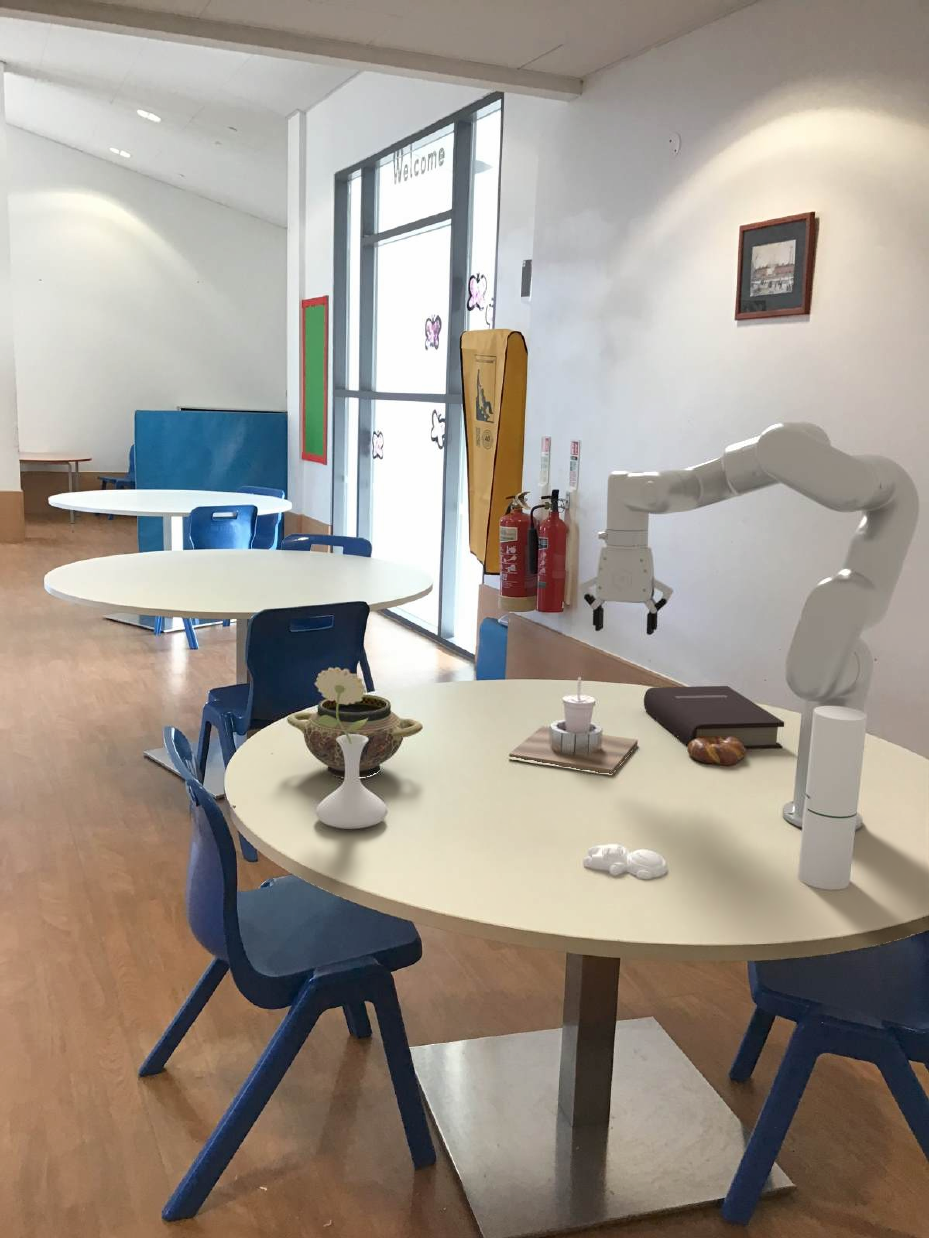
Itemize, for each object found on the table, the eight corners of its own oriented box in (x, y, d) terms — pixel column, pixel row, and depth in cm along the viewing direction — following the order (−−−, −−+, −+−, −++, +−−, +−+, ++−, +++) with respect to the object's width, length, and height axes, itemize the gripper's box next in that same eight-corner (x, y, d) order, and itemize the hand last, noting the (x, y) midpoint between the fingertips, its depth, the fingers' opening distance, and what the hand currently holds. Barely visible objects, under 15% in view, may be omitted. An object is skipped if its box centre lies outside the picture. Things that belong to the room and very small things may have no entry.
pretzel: (714, 744, 217) (715, 727, 216) (758, 759, 209) (760, 741, 208) (674, 754, 210) (675, 736, 209) (718, 770, 201) (720, 751, 201)
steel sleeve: (592, 757, 203) (594, 737, 202) (542, 750, 206) (543, 730, 206) (606, 743, 212) (607, 723, 211) (558, 736, 215) (559, 716, 215)
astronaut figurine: (593, 849, 165) (594, 830, 164) (671, 863, 161) (672, 844, 160) (578, 870, 157) (579, 851, 156) (659, 886, 153) (661, 866, 152)
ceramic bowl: (427, 779, 200) (433, 698, 201) (407, 788, 182) (413, 700, 183) (300, 768, 204) (306, 689, 205) (269, 776, 186) (275, 690, 187)
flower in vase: (401, 818, 174) (404, 668, 169) (359, 841, 164) (361, 683, 159) (336, 801, 180) (337, 656, 175) (292, 822, 171) (292, 670, 166)
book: (642, 713, 239) (644, 687, 238) (725, 711, 243) (727, 685, 242) (689, 753, 212) (692, 724, 211) (781, 750, 216) (784, 722, 215)
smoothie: (557, 749, 207) (560, 679, 204) (563, 740, 213) (567, 671, 210) (589, 753, 205) (593, 682, 202) (595, 743, 211) (599, 674, 208)
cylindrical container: (838, 868, 159) (855, 706, 155) (857, 889, 152) (875, 720, 148) (790, 867, 159) (806, 705, 154) (807, 889, 152) (824, 719, 147)
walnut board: (611, 776, 196) (612, 769, 196) (508, 759, 204) (509, 753, 204) (637, 745, 215) (637, 739, 214) (542, 731, 222) (542, 725, 222)
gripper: (575, 539, 195) (573, 631, 198) (670, 543, 189) (667, 638, 192) (586, 535, 202) (584, 625, 205) (678, 539, 196) (675, 631, 199)
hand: (624, 631), depth 199 cm, fingers open, 9 cm apart
